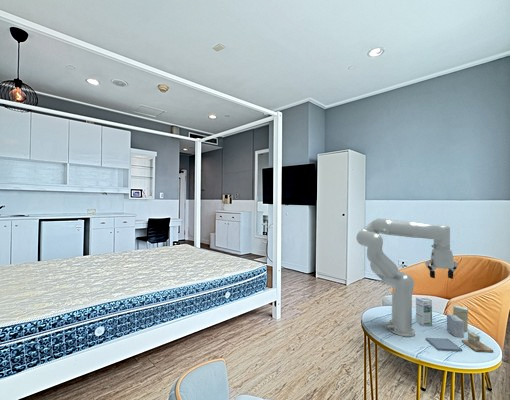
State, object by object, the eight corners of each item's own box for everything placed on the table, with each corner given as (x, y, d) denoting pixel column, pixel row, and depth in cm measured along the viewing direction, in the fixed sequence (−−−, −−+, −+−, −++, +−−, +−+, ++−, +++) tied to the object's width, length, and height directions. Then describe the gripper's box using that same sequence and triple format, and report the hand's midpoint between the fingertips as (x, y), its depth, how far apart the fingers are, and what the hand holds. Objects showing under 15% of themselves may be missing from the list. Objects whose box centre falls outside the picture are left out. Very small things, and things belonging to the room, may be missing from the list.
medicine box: (464, 337, 136) (464, 321, 136) (454, 336, 137) (454, 320, 137) (455, 330, 143) (455, 314, 144) (446, 329, 144) (446, 314, 145)
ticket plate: (438, 350, 123) (438, 348, 123) (425, 339, 133) (425, 337, 133) (462, 351, 123) (462, 349, 123) (447, 340, 133) (447, 338, 133)
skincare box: (452, 328, 146) (452, 306, 147) (454, 325, 149) (454, 304, 150) (467, 332, 142) (467, 309, 142) (468, 329, 145) (468, 307, 145)
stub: (475, 351, 123) (475, 338, 123) (461, 341, 132) (461, 329, 132) (493, 352, 122) (493, 339, 122) (478, 342, 131) (478, 330, 131)
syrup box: (423, 326, 148) (423, 300, 149) (415, 321, 154) (415, 296, 154) (432, 325, 149) (432, 300, 149) (424, 321, 155) (424, 296, 155)
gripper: (429, 248, 143) (429, 279, 143) (462, 248, 142) (462, 280, 142) (421, 245, 150) (421, 275, 150) (452, 246, 149) (452, 276, 149)
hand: (441, 277), depth 146 cm, fingers open, 9 cm apart
